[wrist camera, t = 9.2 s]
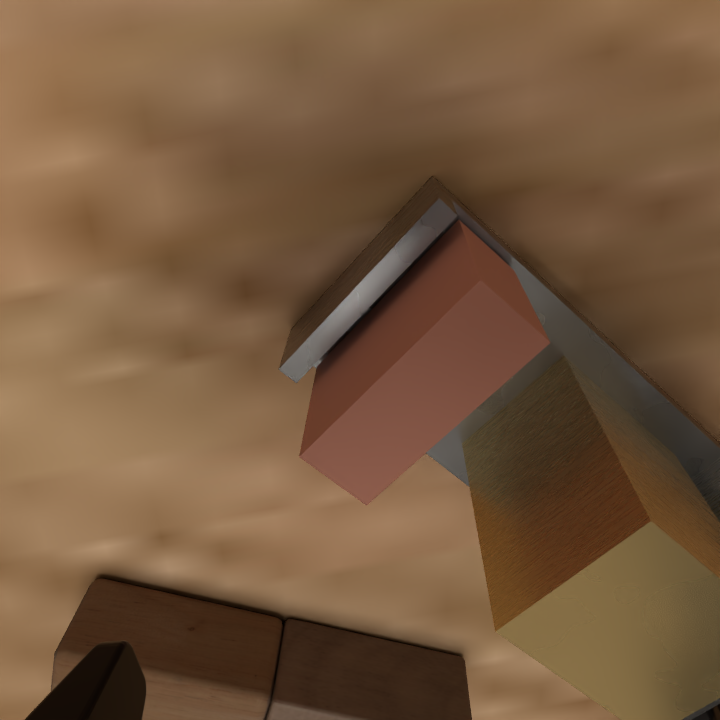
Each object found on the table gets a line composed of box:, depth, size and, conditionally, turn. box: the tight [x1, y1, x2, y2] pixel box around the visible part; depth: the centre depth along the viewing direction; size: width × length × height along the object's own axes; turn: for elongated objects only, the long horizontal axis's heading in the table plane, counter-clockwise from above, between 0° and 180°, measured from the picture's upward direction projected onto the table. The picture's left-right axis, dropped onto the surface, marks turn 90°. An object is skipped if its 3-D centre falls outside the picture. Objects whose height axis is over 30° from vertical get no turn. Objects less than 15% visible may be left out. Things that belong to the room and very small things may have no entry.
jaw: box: [299, 220, 551, 505], centre depth 16 cm, size 2×6×4 cm, turn 139°
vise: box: [279, 176, 720, 720], centre depth 18 cm, size 14×6×6 cm, turn 49°
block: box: [462, 355, 720, 720], centre depth 17 cm, size 5×4×7 cm
